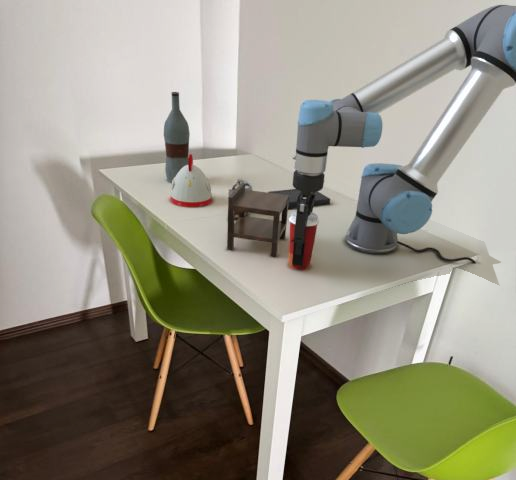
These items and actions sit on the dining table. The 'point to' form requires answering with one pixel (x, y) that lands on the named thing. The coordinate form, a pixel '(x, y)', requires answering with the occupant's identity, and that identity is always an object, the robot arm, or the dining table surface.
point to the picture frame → (294, 194)
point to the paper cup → (309, 240)
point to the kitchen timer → (191, 187)
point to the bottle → (176, 140)
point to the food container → (239, 181)
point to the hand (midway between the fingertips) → (299, 258)
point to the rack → (252, 225)
